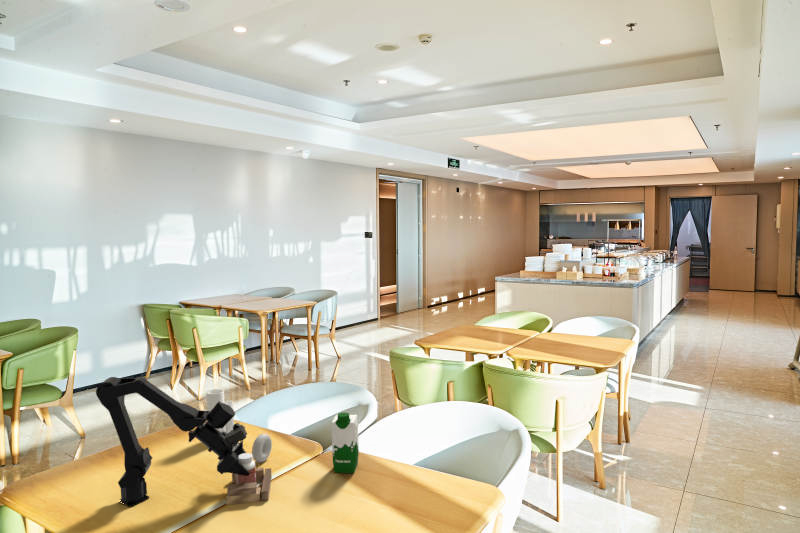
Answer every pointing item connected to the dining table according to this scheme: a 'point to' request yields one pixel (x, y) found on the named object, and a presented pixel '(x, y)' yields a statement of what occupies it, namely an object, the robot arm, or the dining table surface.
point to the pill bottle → (250, 466)
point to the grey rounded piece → (261, 447)
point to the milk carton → (345, 443)
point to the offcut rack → (250, 489)
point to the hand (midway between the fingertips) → (250, 468)
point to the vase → (218, 395)
